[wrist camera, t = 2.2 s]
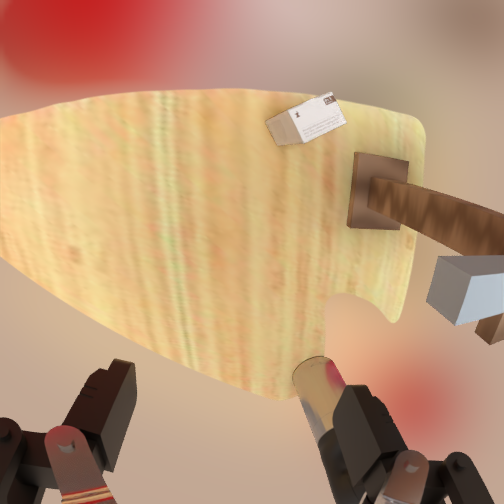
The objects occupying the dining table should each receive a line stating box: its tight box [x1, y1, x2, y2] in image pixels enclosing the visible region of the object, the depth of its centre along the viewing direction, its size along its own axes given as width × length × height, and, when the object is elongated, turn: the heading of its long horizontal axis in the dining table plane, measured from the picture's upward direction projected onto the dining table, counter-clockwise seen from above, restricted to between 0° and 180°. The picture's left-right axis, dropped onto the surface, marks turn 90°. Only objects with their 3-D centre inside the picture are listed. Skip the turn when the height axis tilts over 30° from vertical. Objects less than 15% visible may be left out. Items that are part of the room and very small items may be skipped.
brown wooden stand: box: [347, 152, 504, 345], centre depth 30 cm, size 12×12×33 cm
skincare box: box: [265, 92, 347, 146], centre depth 35 cm, size 6×4×12 cm
